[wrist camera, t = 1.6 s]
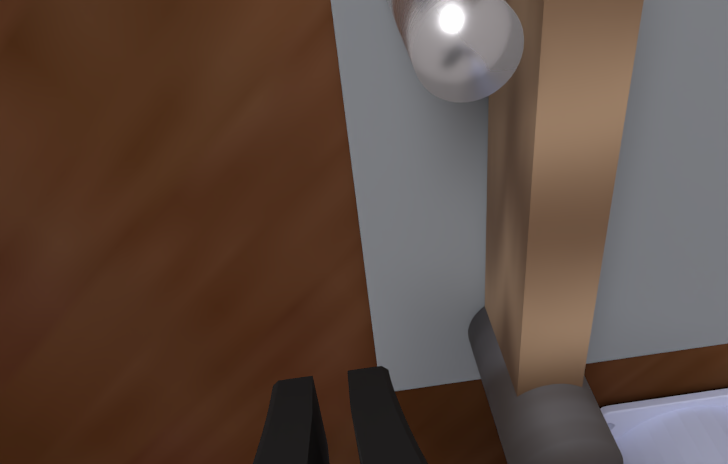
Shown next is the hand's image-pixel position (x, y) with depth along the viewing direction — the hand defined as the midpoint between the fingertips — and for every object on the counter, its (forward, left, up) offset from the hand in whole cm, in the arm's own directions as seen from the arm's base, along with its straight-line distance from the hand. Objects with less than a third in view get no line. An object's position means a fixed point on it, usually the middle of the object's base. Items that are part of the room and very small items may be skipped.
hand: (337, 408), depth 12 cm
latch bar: (-1, -6, -9) cm, 11 cm away
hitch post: (+5, -3, -9) cm, 11 cm away
